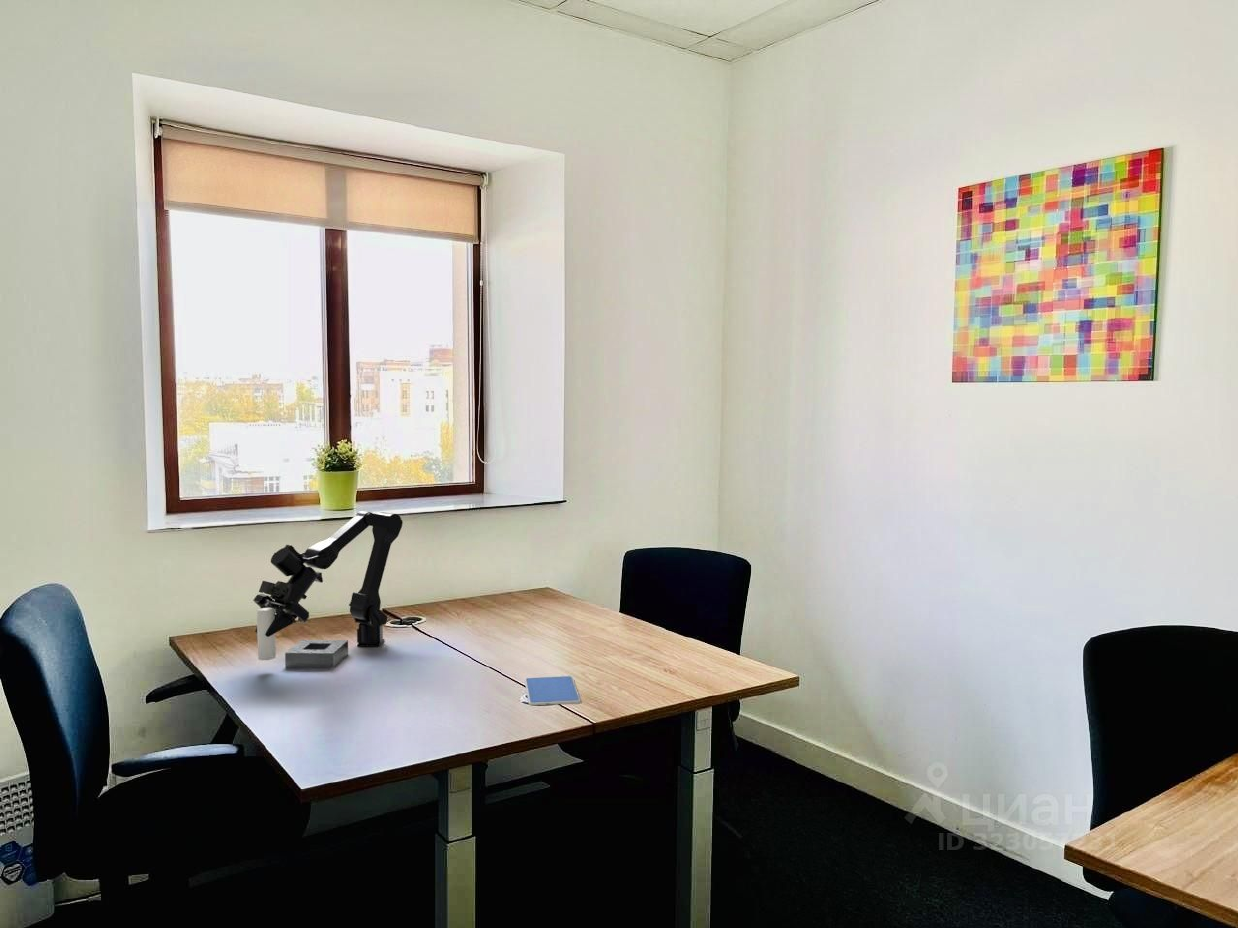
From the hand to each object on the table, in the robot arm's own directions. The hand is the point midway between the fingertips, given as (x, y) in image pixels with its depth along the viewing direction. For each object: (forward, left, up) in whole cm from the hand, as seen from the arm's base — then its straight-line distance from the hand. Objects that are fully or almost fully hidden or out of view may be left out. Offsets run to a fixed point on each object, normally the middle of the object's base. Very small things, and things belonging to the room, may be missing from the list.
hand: (261, 634), depth 243 cm
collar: (-11, -11, -10) cm, 19 cm away
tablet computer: (-78, +13, -11) cm, 80 cm away
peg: (-1, -1, -7) cm, 7 cm away
